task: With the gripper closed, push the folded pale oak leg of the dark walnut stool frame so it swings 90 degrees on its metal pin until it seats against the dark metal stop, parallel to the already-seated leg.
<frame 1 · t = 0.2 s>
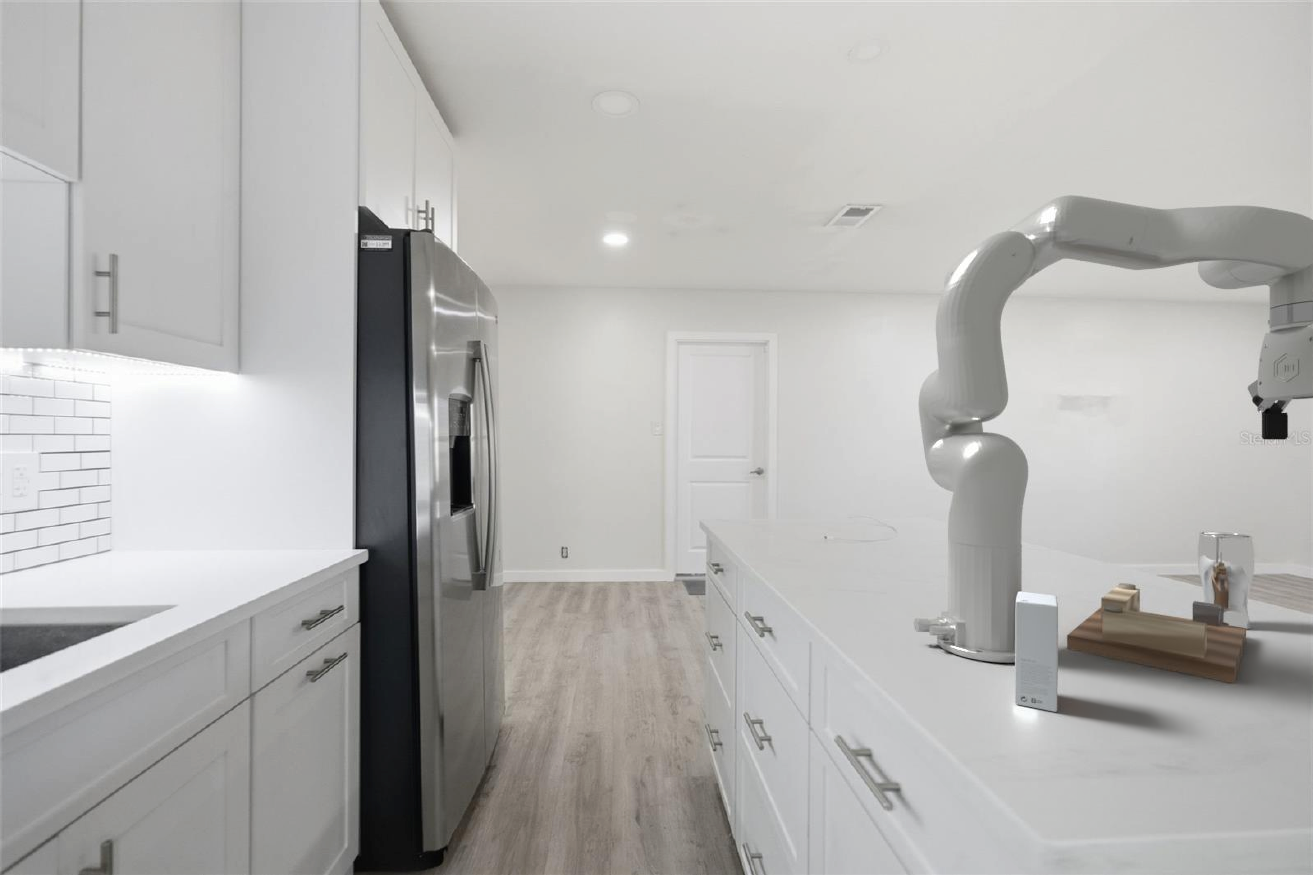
hand: (1307, 439, 88), 31 cm above the counter, fingers open, 9 cm apart
beer glass: (1225, 625, 104), on the counter
hinged leg: (1121, 604, 99), point 5 cm above the counter, hinge at 0.0°
stool frame: (1158, 644, 93), on the counter
skincare box: (1036, 701, 73), on the counter
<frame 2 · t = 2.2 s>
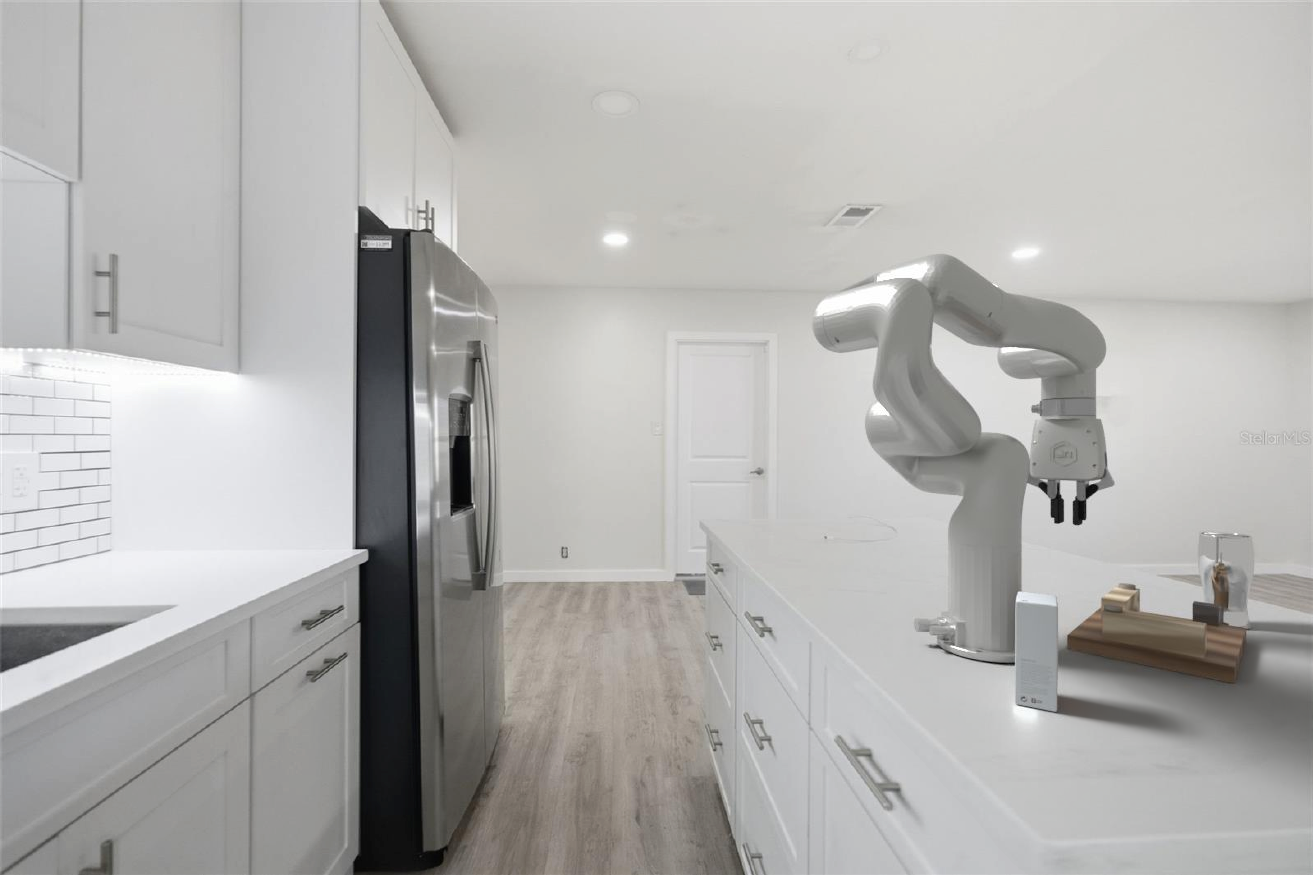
hand: (1068, 522, 101), 17 cm above the counter, fingers closed
nothing on the counter moved.
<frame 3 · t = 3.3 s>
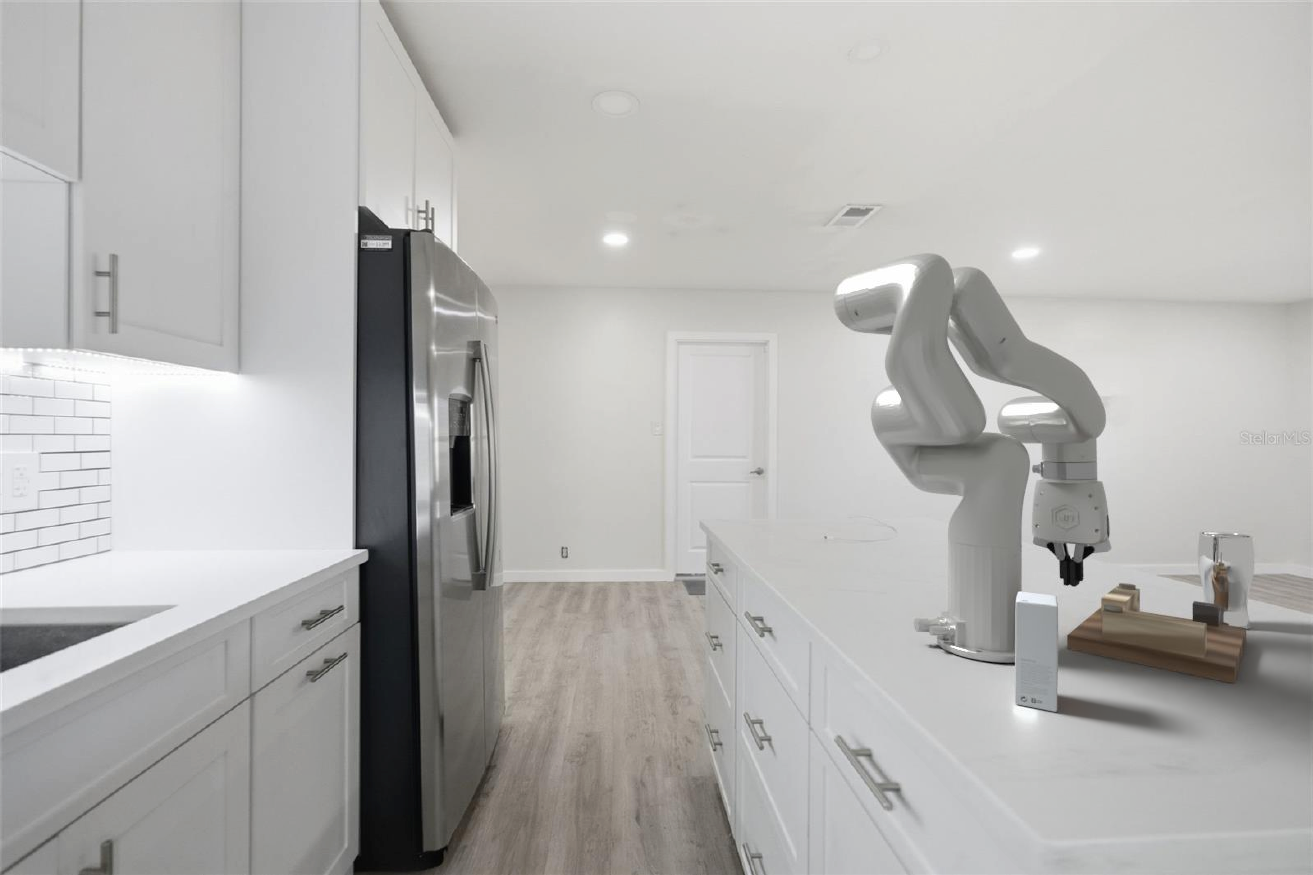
hand: (1071, 584, 102), 7 cm above the counter, fingers closed
nothing on the counter moved.
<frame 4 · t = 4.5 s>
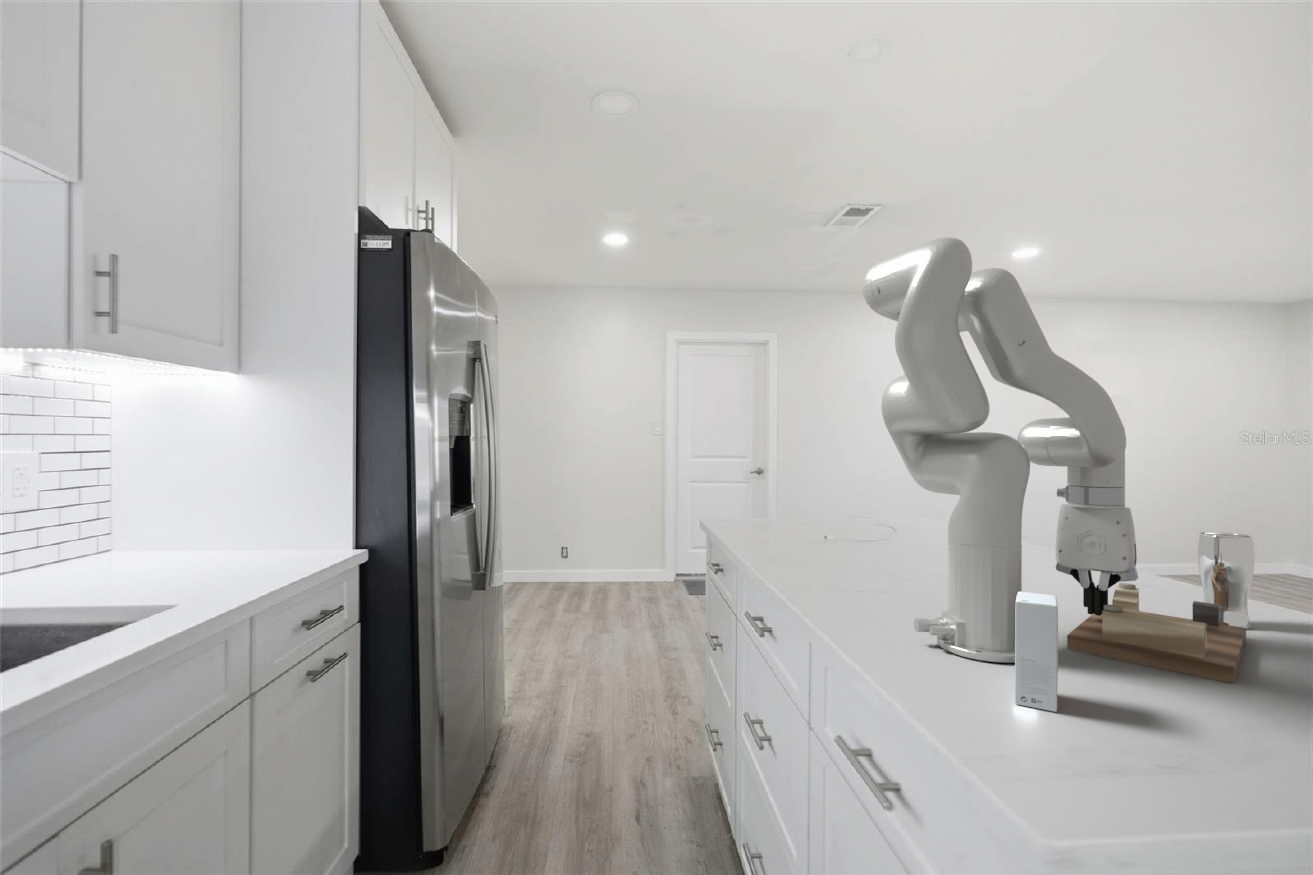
hand: (1095, 613, 99), 3 cm above the counter, fingers closed
hinged leg: (1126, 604, 98), point 5 cm above the counter, hinge at 7.4°, touching gripper
everything else where it was.
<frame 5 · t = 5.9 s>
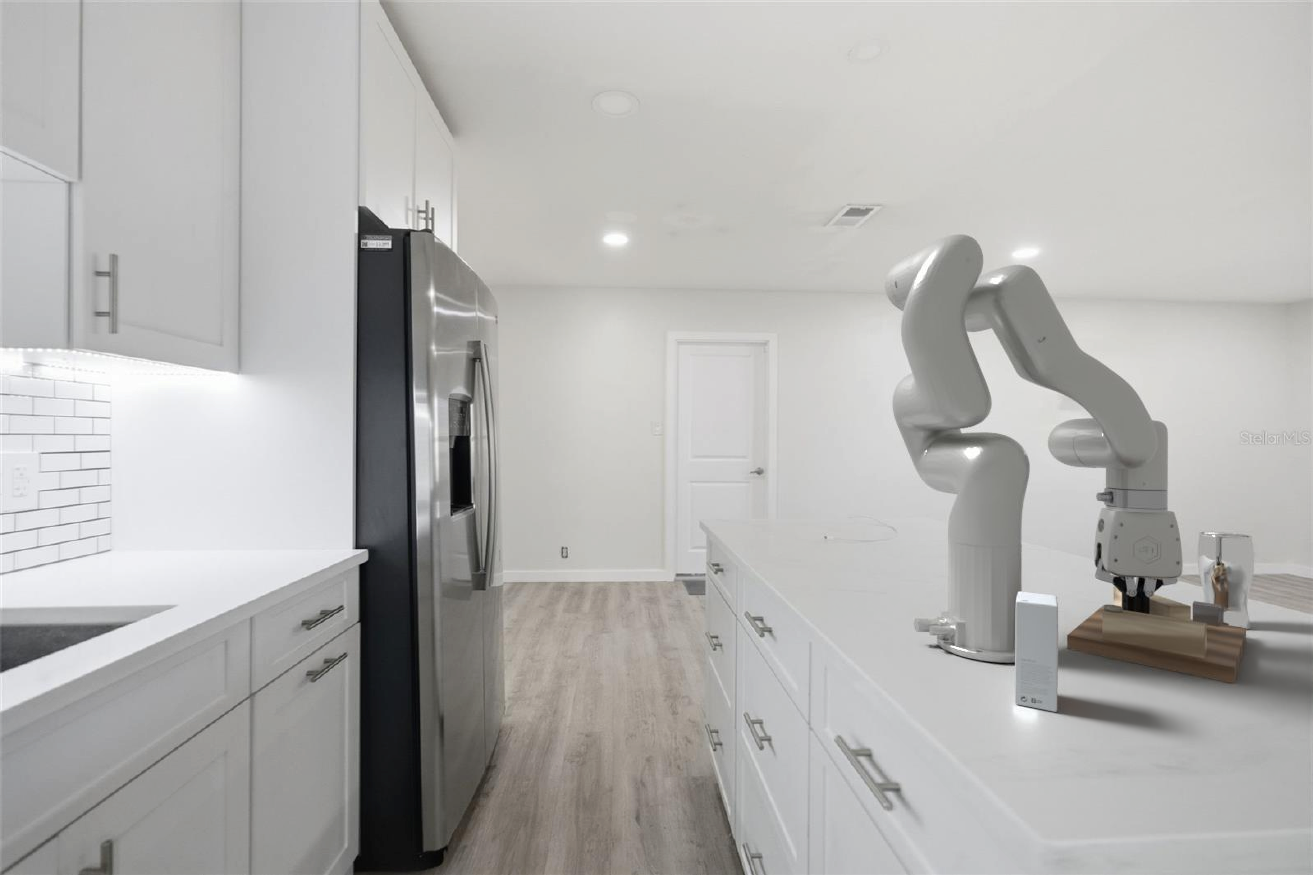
hand: (1135, 620, 95), 3 cm above the counter, fingers closed
hinged leg: (1149, 606, 97), point 5 cm above the counter, hinge at 43.1°, touching gripper
everything else where it was.
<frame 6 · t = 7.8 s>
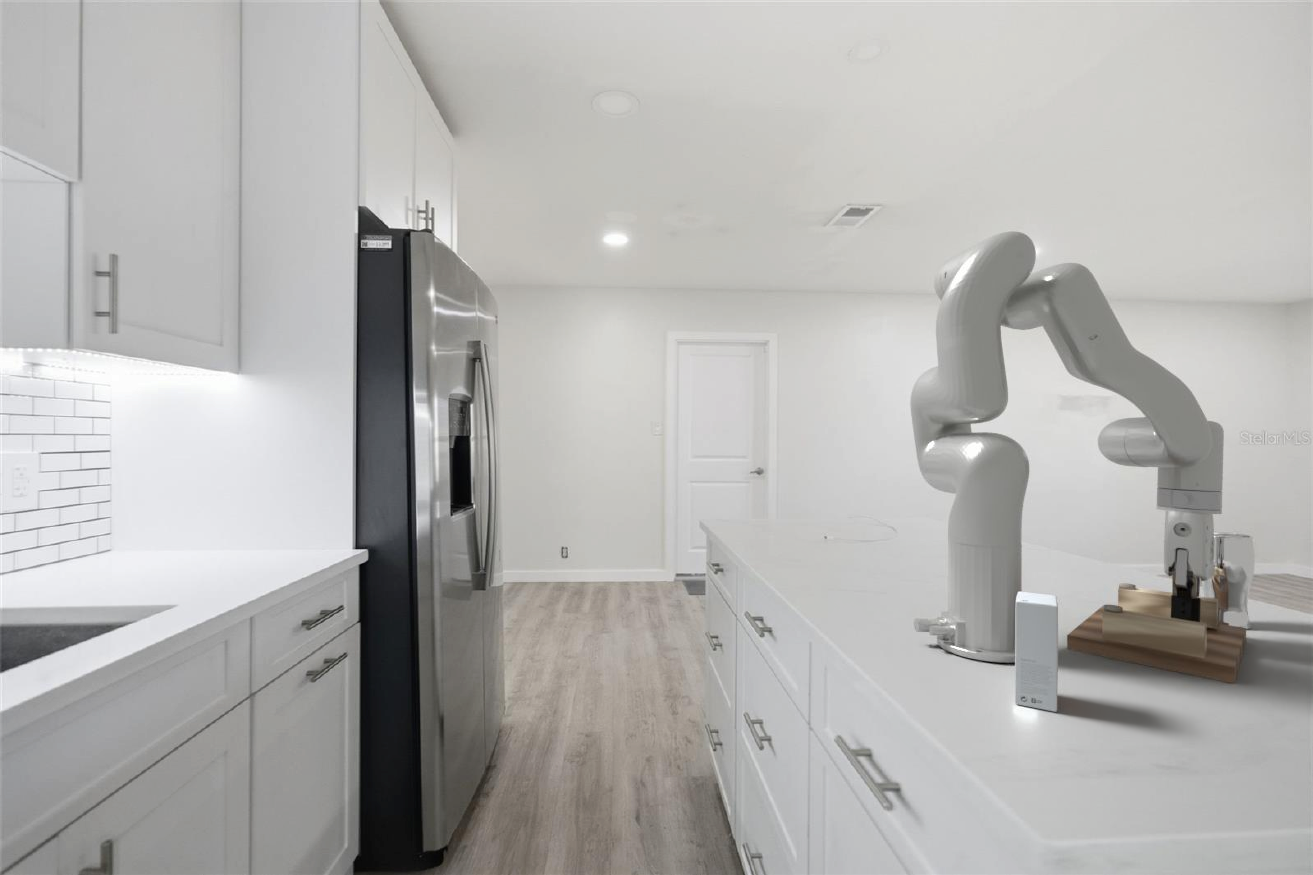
hand: (1185, 622, 94), 3 cm above the counter, fingers closed
hinged leg: (1166, 604, 99), point 5 cm above the counter, hinge at 91.7°, touching gripper, stool frame
everything else where it was.
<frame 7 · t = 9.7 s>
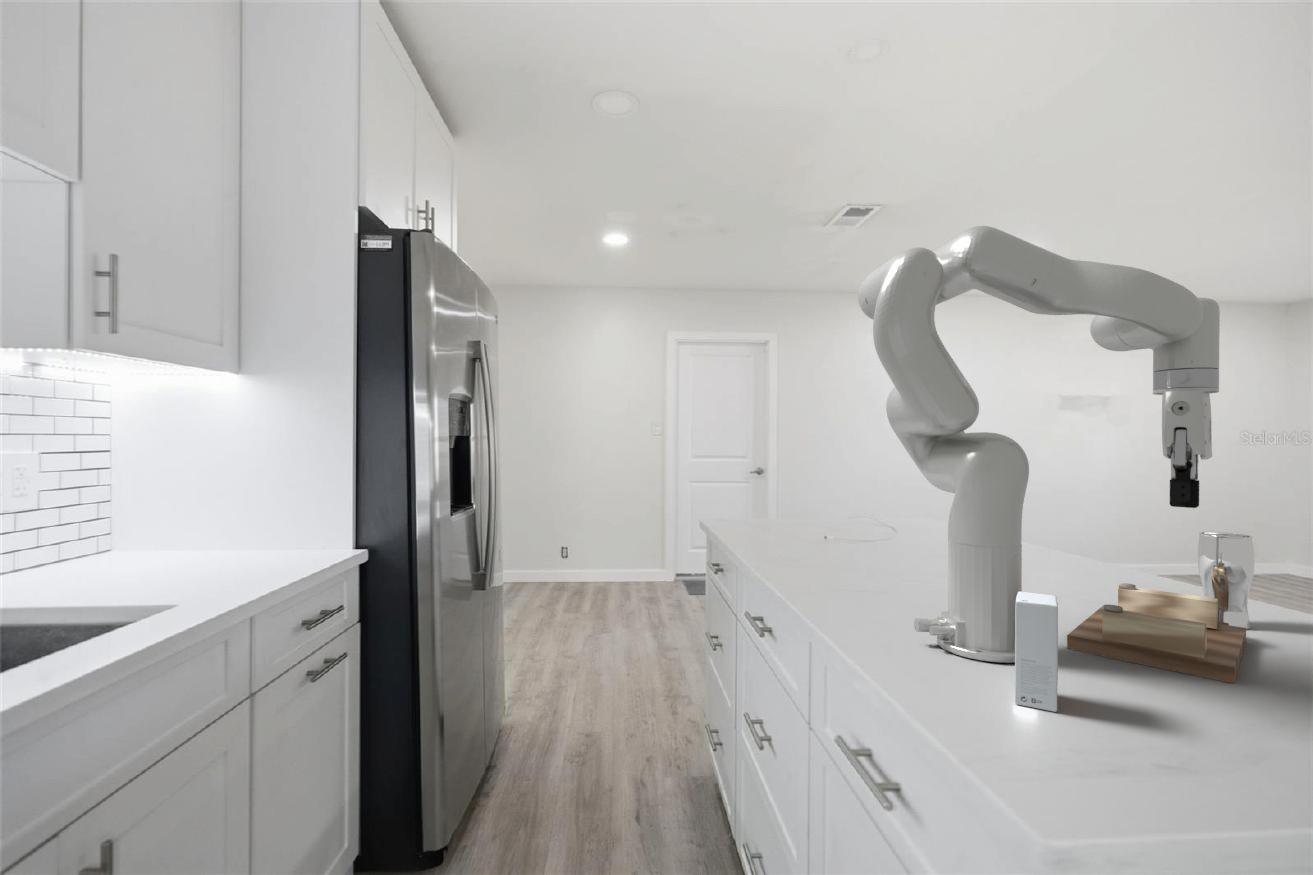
hand: (1184, 506, 92), 21 cm above the counter, fingers closed
hinged leg: (1166, 604, 99), point 5 cm above the counter, hinge at 91.5°
everything else where it was.
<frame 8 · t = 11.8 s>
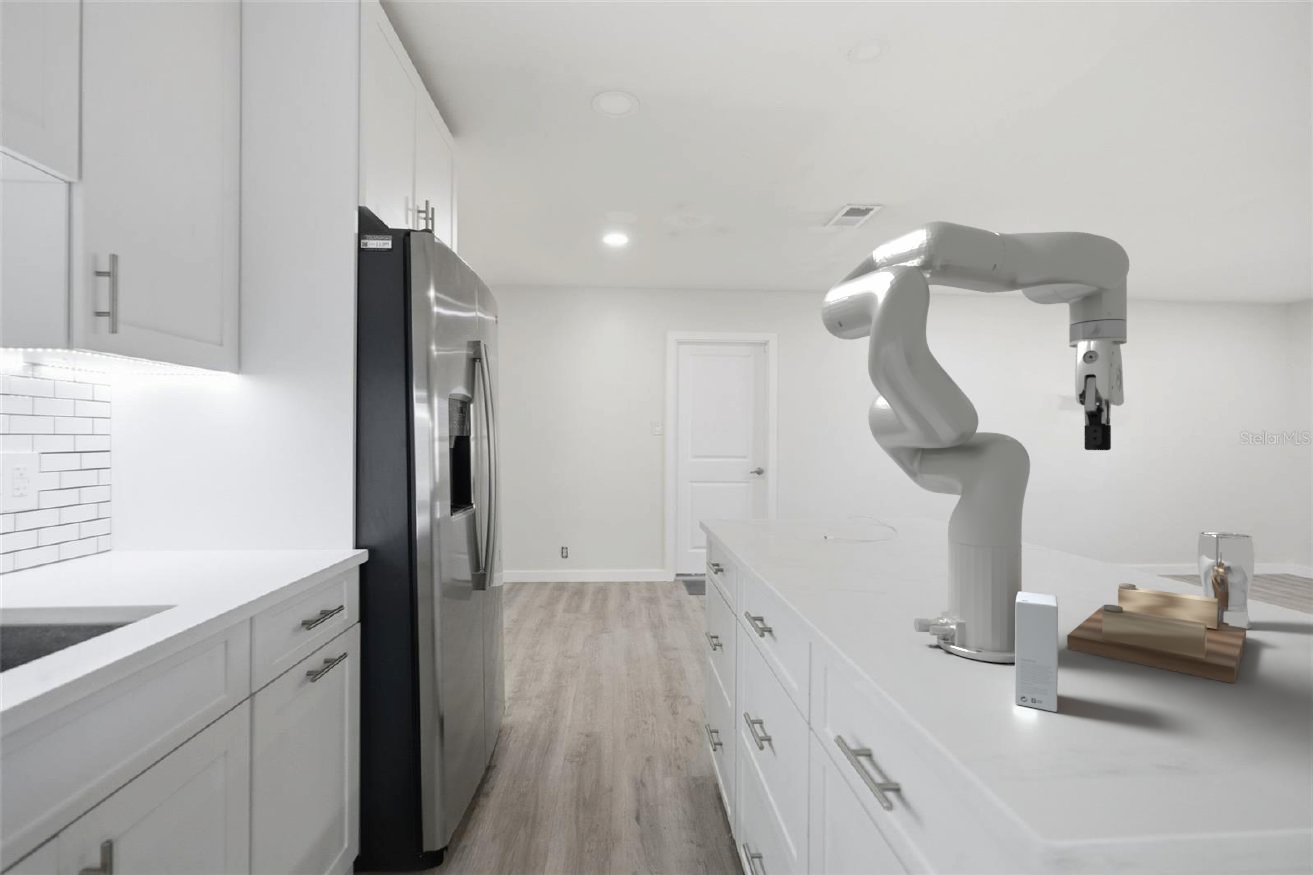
hand: (1097, 449, 99), 29 cm above the counter, fingers closed
nothing on the counter moved.
at the end: hinged leg at +92° (first picture: +0°); beer glass moved 0.2 cm from its start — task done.
